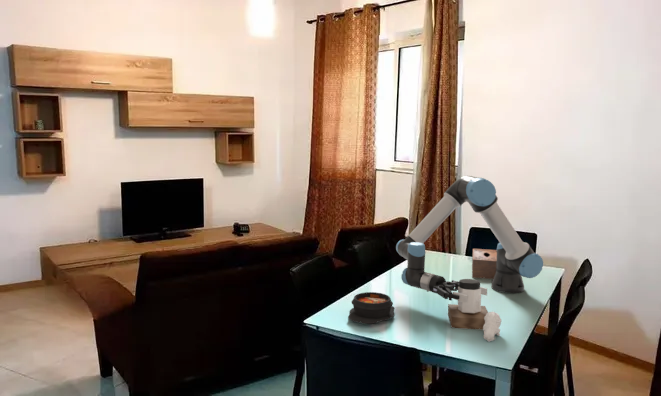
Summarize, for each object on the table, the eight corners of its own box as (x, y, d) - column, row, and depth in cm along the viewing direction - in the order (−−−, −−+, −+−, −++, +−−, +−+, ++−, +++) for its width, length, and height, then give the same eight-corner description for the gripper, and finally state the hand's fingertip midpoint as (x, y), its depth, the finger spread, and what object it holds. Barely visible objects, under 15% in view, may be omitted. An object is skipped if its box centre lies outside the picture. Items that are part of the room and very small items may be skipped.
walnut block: (484, 317, 212) (485, 305, 211) (490, 331, 197) (491, 319, 197) (447, 315, 214) (448, 304, 213) (451, 329, 199) (451, 317, 199)
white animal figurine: (502, 311, 193) (498, 324, 182) (501, 331, 195) (497, 346, 184) (485, 308, 196) (480, 322, 185) (484, 329, 198) (479, 343, 187)
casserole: (365, 304, 226) (365, 286, 225) (404, 312, 216) (405, 293, 215) (337, 322, 204) (337, 302, 203) (379, 332, 195) (379, 310, 194)
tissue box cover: (472, 265, 293) (472, 248, 291) (498, 267, 289) (499, 250, 288) (472, 277, 268) (473, 259, 267) (501, 280, 264) (502, 261, 263)
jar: (470, 314, 199) (471, 284, 198) (453, 310, 205) (454, 280, 205) (484, 310, 205) (485, 281, 204) (467, 306, 211) (468, 277, 210)
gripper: (450, 286, 226) (493, 298, 210) (414, 298, 210) (458, 311, 194) (451, 269, 225) (494, 280, 209) (415, 280, 209) (459, 292, 193)
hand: (477, 295), depth 202 cm, fingers open, 13 cm apart
